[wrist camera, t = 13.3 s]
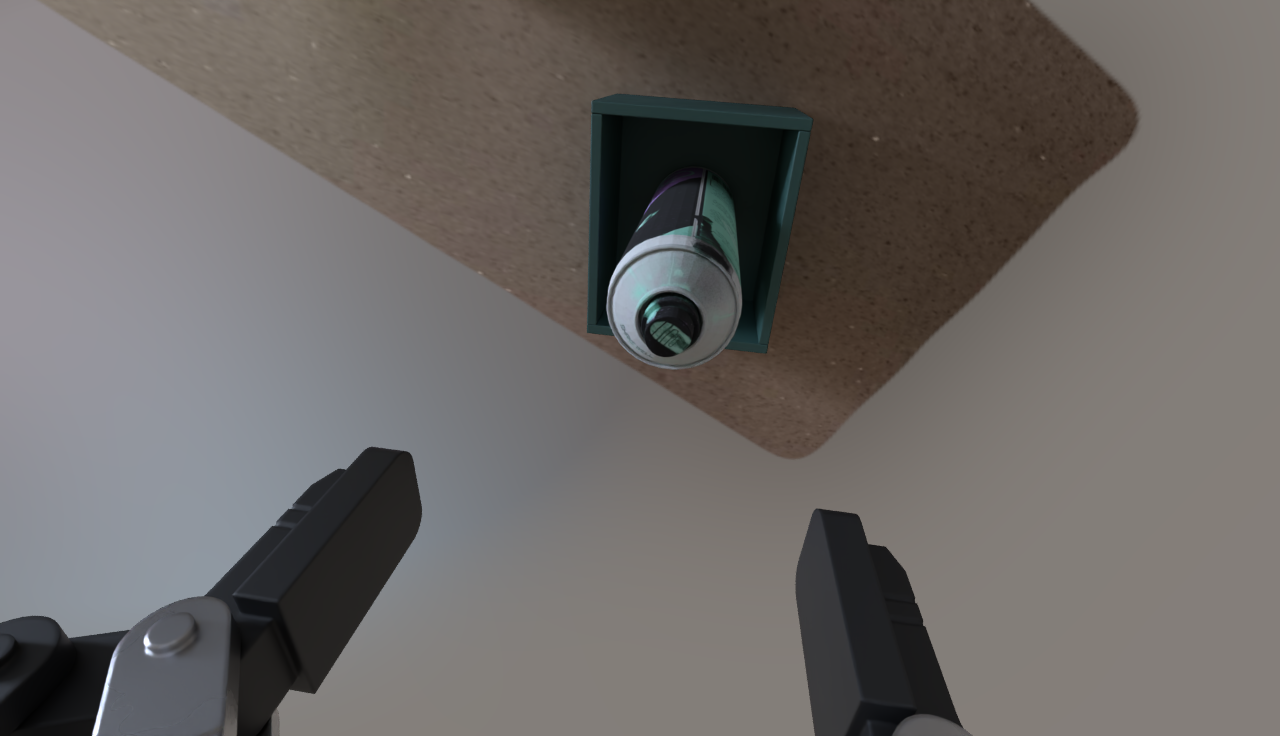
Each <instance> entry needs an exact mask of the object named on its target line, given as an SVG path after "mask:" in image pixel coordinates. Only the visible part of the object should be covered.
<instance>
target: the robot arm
mask: <svg viewBox="0 0 1280 736" xmlns="http://www.w3.org/2000/svg"><path fill="white" fill-rule="evenodd" d="M421 517H422V506H421V500H420V495H419V489H418V484H417V479H416V473H415V467H414V462H413V458H412V456H411V454H410V453H409V452H406V451H400V450H391V449H385V448H377V447H369V448H367V449H365V450H364V451H363V452H362V453H361V454H360V456H358V458H357V459H356V460H355V461H354V462H353V463H352V464H351V465H350V466H349V467H348V469H347V470H345V469H337V470H335V471H334V472H332V473H331V474H329V475H327V476H326V477H324V478H322V479H321V480H319V481H317V482H316V483H314V484H312V485H311V486H310V487H309V488H308V489H307V490H306V491H305V492H304V494H303V495H302V496H301V497H300V498H299V499H298V500H297V501H296V502H295V503H294V504H293V507H292V509H288V510H287V511H286V512H285V513H284V514H283V515H282V516H281V517H280V518H279V520H278V521H277V522H276V525H275V526H272V527H271V528H270V529H269V530H268V531H267V532H266V533H265V534H264V535H263V536H262V537H261V538H260V539H259V540H258V541H257V542H256V543H255V544H254V545H253V546H252V547H251V548H250V550H249V551H248V552H247V553H246V554H245V555H244V556H243V557H242V558H241V559H240V560H239V561H238V562H237V563H236V564H235V565H234V566H233V567H232V568H231V569H230V570H229V572H227V573H226V574H225V575H224V577H223V578H222V579H221V580H220V581H219V582H218V583H217V584H216V585H215V586H214V587H213V588H212V589H211V590H210V591H209V592H208V593H207V594H206V595H205V596H202V597H192V598H187V599H184V600H180V601H177V602H174V603H172V604H169V605H167V606H165V607H162V608H160V609H159V610H157V611H155V612H153V613H151V614H150V615H148V616H147V617H146V618H144V619H143V620H141V621H140V622H139V623H137V624H136V625H135V626H134V627H133V628H132V629H131V630H126V631H119V632H112V633H105V634H97V635H89V636H82V637H75V638H68V637H67V635H66V634H65V633H64V631H63V630H62V629H61V627H60V626H59V624H58V623H57V622H56V621H55V620H53V619H51V618H49V617H44V616H28V617H21V618H16V619H12V620H9V621H6V622H2V623H0V736H279V713H278V710H277V707H278V705H279V704H280V702H281V701H282V699H283V698H284V696H285V695H286V693H287V692H288V691H289V689H290V690H295V691H301V692H307V693H312V694H315V693H316V691H317V690H318V688H319V687H320V685H321V683H322V682H323V680H324V679H325V677H326V676H327V674H328V673H329V671H330V669H331V668H332V666H333V665H334V663H335V661H336V660H337V658H338V657H339V655H340V654H341V652H342V651H343V649H344V648H345V646H346V644H347V643H348V641H349V640H350V638H351V637H352V635H353V633H354V632H355V630H356V629H357V627H358V626H359V624H360V622H361V621H362V620H363V618H364V616H365V615H366V613H367V612H368V610H369V609H370V607H371V606H372V604H373V602H374V601H375V599H376V598H377V596H378V595H379V593H380V591H381V590H382V588H383V587H384V585H385V584H386V582H387V581H388V579H389V577H390V576H391V574H392V573H393V571H394V570H395V568H396V566H397V565H398V563H399V562H400V560H401V559H402V557H403V556H404V554H405V553H406V551H407V549H408V548H409V546H410V545H411V543H412V541H413V540H414V538H415V536H416V534H417V532H418V529H419V526H420V522H421ZM796 600H797V607H798V615H799V621H800V629H801V637H802V644H803V651H804V658H805V666H806V673H807V680H808V688H809V695H810V702H811V710H812V717H813V724H814V731H815V736H972V735H971V734H970V733H969V732H967V731H966V730H965V729H964V728H963V727H962V725H961V723H960V721H959V718H958V716H957V714H956V711H955V708H954V705H953V703H952V700H951V697H950V694H949V691H948V689H947V686H946V683H945V680H944V677H943V675H942V672H941V669H940V666H939V663H938V661H937V658H936V655H935V652H934V649H933V647H932V644H931V641H930V639H929V636H928V633H927V630H926V627H925V626H923V619H922V616H921V613H920V610H919V607H918V605H917V604H916V603H915V596H914V593H913V591H912V588H911V585H910V582H909V579H908V577H907V574H906V571H905V570H904V569H903V567H902V566H901V565H900V564H899V563H898V562H897V560H896V559H895V558H894V556H893V555H892V554H891V553H890V551H889V550H888V549H887V548H886V547H884V546H877V545H870V544H868V543H867V540H866V536H865V533H864V529H863V526H862V523H861V520H860V518H859V516H858V515H857V514H853V513H846V512H839V511H831V510H823V509H815V510H814V512H813V514H812V517H811V521H810V524H809V527H808V531H807V534H806V537H805V541H804V544H803V548H802V551H801V554H800V558H799V561H798V565H797V572H796Z"/></svg>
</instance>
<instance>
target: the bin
mask: <svg viewBox="0 0 1280 736" xmlns="http://www.w3.org/2000/svg"><path fill="white" fill-rule="evenodd" d="M591 112H592V113H593V114H592V115H591V159H590V210H589V262H588V313H587V323H588V324H587V333H593V334H602V335H610V336H615V335H614V334H613V331H612V329H611V326H610V324H609V320H608V315H607V297H608V289H609V285H610V280H611V278H612V275H613V273H614V271H615V269H616V267H617V265H618V263H619V261H620V259H621V257H622V256H623V254H624V252H625V250H626V248H627V246H628V244H629V242H630V240H631V238H632V236H633V234H634V232H635V230H636V228H637V227H638V225H639V223H640V221H641V219H642V217H643V215H644V213H645V211H646V209H647V207H648V205H649V203H650V201H651V199H652V198H653V196H654V194H655V192H656V190H657V188H658V186H659V185H660V184H661V182H662V181H663V180H664V179H665V178H666V177H667V176H668V175H669V174H671V173H673V172H674V171H676V170H678V169H681V168H684V167H690V166H697V167H704V168H707V169H710V170H712V171H714V172H715V173H717V174H718V175H719V176H721V177H722V178H723V179H724V181H725V182H726V183H727V184H728V186H729V188H730V190H731V193H732V196H733V200H734V208H735V220H736V232H737V244H738V256H739V268H740V280H741V292H742V309H741V315H740V318H739V322H738V326H737V328H736V331H735V334H734V336H733V337H732V339H731V340H730V342H729V344H728V345H727V346H726V347H725V348H724V349H731V350H739V351H748V352H756V353H765V354H766V353H767V348H768V343H769V338H770V333H771V328H772V323H773V318H774V313H775V308H776V303H777V298H778V293H779V288H780V283H781V278H782V273H783V268H784V264H785V259H786V254H787V249H788V244H789V239H790V234H791V229H792V224H793V219H794V214H795V209H796V204H797V199H798V194H799V189H800V184H801V179H802V174H803V169H804V164H805V159H806V154H807V149H808V144H809V139H810V134H811V132H810V131H811V129H812V124H813V119H812V118H811V117H809V116H807V115H806V114H804V113H803V112H801V111H799V110H798V109H796V108H790V107H777V106H765V105H752V104H740V103H727V102H715V101H702V100H690V99H677V98H665V97H653V96H640V95H628V94H614V95H611V96H607V97H604V98H600V99H597V100H593V101H592V107H591Z"/></svg>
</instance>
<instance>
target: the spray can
mask: <svg viewBox="0 0 1280 736" xmlns="http://www.w3.org/2000/svg"><path fill="white" fill-rule="evenodd" d="M741 309H742V292H741V280H740V268H739V256H738V244H737V232H736V220H735V208H734V200H733V196H732V193H731V190H730V188H729V186H728V184H727V183H726V182H725V181H724V179H723V178H722V177H721V176H719V175H718V174H717V173H715V172H714V171H712V170H710V169H707V168H704V167H697V166H690V167H684V168H681V169H678V170H676V171H674V172H673V173H671V174H669V175H668V176H667V177H666V178H665V179H664V180H663V181H662V182H661V184H660V185H659V186H658V188H657V190H656V192H655V194H654V196H653V198H652V199H651V201H650V203H649V205H648V207H647V209H646V211H645V213H644V215H643V217H642V219H641V221H640V223H639V225H638V227H637V228H636V230H635V232H634V234H633V236H632V238H631V240H630V242H629V244H628V246H627V248H626V250H625V252H624V254H623V256H622V257H621V259H620V261H619V263H618V265H617V267H616V269H615V271H614V273H613V275H612V278H611V280H610V285H609V289H608V297H607V315H608V320H609V324H610V326H611V329H612V331H613V334H614V335H615V337H616V338H617V340H618V341H619V343H620V344H621V345H622V346H623V347H624V348H625V349H626V350H627V351H628V352H629V353H630V354H631V355H633V356H634V357H635V358H637V359H638V360H640V361H642V362H644V363H647V364H649V365H652V366H655V367H659V368H664V369H673V370H674V369H687V368H691V367H695V366H699V365H701V364H703V363H705V362H708V361H709V360H711V359H712V358H714V357H715V356H717V355H718V354H719V353H720V352H721V351H722V350H723V349H724V348H725V347H726V346H727V345H728V344H729V342H730V340H731V339H732V337H733V336H734V334H735V331H736V328H737V326H738V322H739V318H740V315H741Z"/></svg>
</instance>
